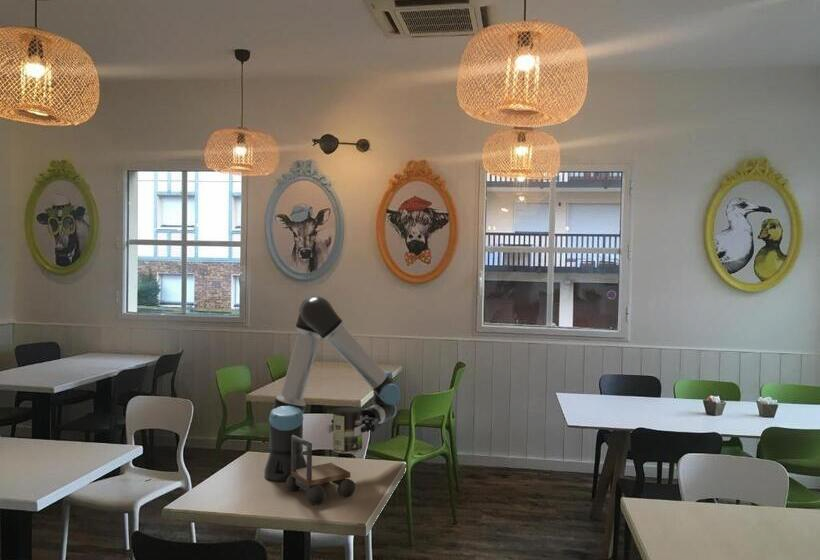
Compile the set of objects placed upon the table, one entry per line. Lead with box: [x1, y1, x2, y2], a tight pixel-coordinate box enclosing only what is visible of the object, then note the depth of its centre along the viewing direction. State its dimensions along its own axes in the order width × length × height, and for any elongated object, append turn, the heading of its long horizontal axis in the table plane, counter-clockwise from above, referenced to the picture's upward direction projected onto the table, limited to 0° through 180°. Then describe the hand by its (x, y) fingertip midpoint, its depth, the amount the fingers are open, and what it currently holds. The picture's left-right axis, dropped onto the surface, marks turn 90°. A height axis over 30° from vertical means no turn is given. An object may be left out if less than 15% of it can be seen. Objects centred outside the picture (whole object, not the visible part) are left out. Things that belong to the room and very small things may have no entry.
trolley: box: [285, 435, 356, 505], centre depth 209 cm, size 17×17×19 cm
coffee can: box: [332, 406, 363, 455], centre depth 223 cm, size 10×10×14 cm
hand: (341, 430), depth 219 cm, fingers closed on coffee can, 10 cm apart
